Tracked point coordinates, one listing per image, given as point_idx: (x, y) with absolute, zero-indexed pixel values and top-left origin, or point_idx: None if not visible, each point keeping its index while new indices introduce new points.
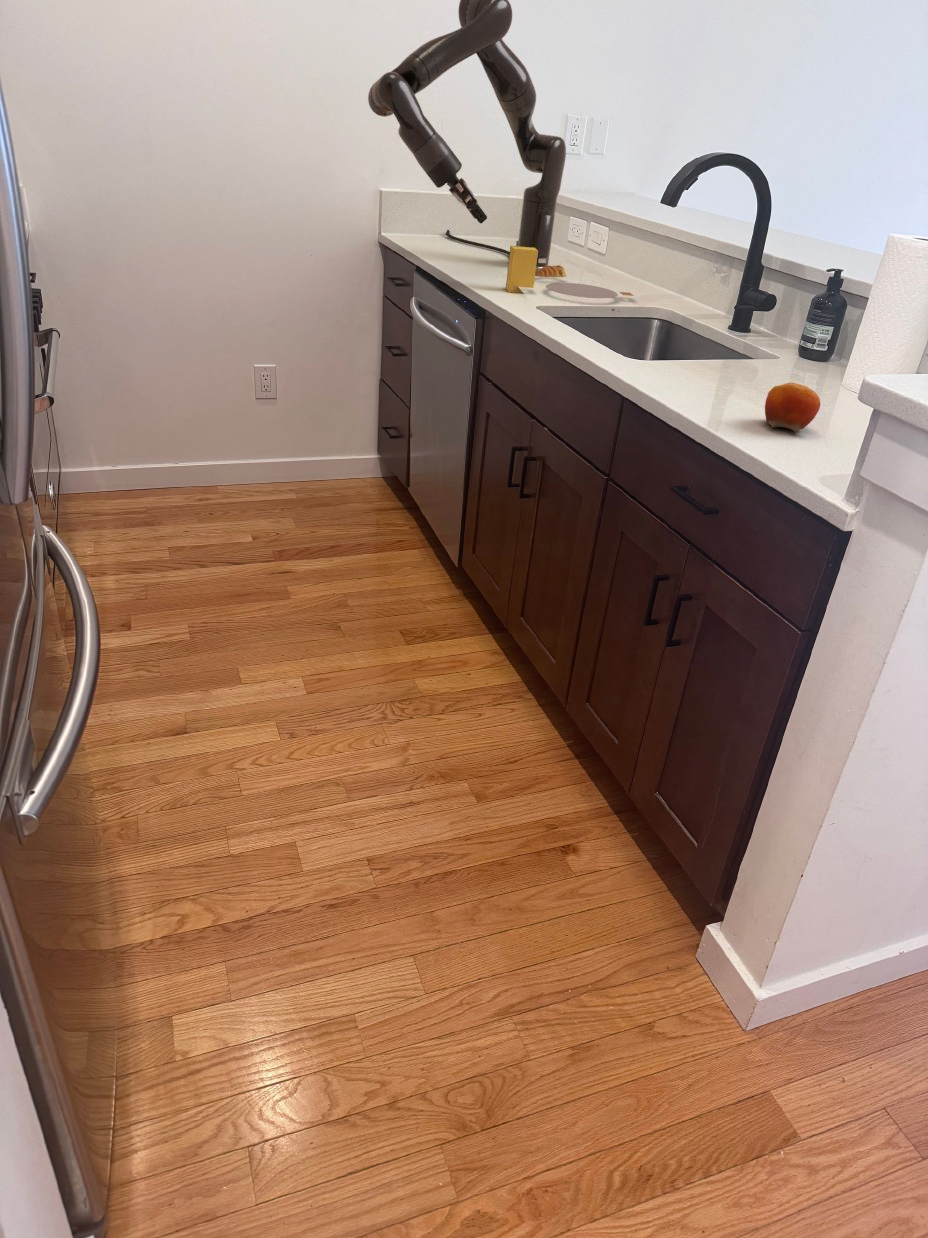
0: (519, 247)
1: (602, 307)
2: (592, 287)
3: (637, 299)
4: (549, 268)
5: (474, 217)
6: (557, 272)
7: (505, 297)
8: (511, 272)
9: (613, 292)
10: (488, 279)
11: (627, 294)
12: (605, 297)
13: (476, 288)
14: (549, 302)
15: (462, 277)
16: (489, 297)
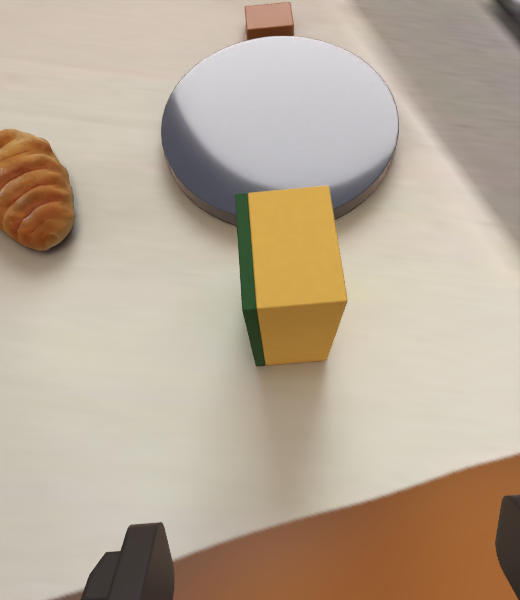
0: (286, 267)
1: (423, 96)
2: (213, 86)
3: (247, 5)
4: (30, 176)
5: (171, 595)
6: (49, 157)
7: (443, 382)
8: (334, 337)
9: (269, 43)
10: (82, 423)
11: (280, 14)
12: (367, 70)
13: (313, 496)
14: (441, 234)
15: (72, 549)
16: (484, 451)
